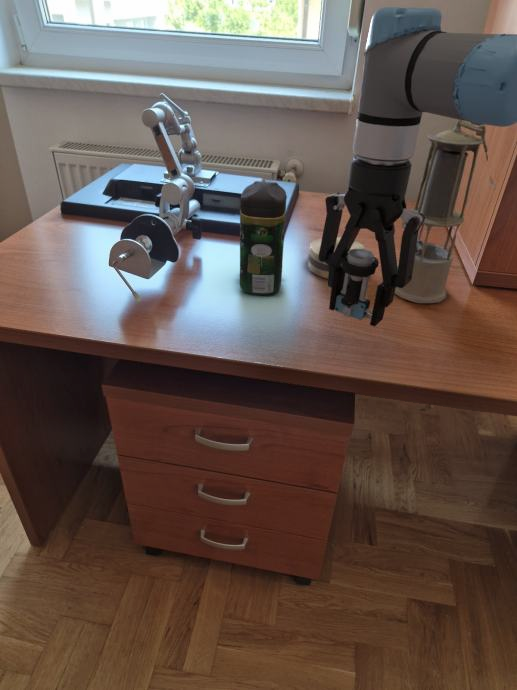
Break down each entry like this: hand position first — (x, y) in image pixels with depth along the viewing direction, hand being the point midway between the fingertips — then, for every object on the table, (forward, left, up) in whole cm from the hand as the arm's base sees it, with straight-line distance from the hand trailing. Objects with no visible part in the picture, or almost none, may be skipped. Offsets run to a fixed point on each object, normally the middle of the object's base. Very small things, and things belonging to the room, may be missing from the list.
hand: (355, 313), depth 73 cm
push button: (0, 0, 0) cm, 0 cm away
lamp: (-3, -24, -5) cm, 25 cm away
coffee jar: (+22, -5, -5) cm, 23 cm away
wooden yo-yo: (+15, -21, -5) cm, 27 cm away
